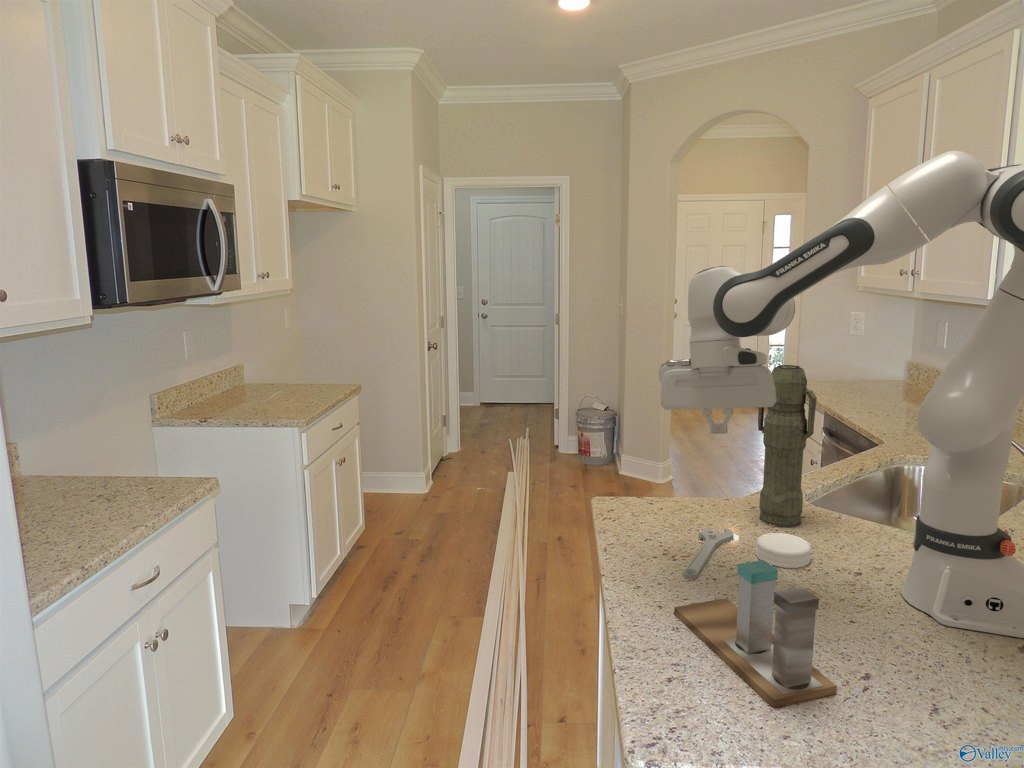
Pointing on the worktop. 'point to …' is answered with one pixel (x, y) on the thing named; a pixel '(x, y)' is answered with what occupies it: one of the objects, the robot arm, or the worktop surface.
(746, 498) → the worktop surface
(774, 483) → the thermos
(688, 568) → the adjustable wrench
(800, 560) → the white flat disc
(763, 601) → the teal-lidded container
